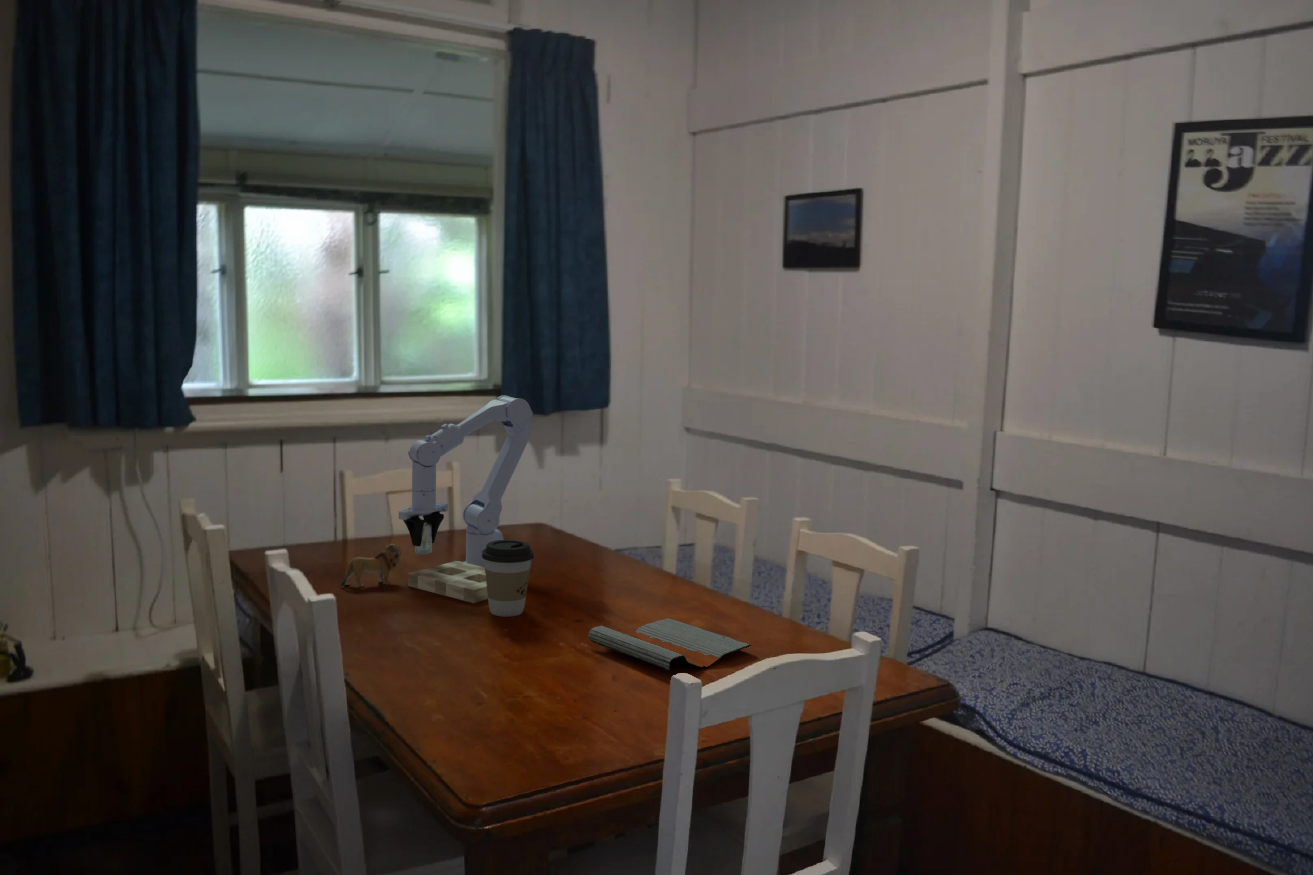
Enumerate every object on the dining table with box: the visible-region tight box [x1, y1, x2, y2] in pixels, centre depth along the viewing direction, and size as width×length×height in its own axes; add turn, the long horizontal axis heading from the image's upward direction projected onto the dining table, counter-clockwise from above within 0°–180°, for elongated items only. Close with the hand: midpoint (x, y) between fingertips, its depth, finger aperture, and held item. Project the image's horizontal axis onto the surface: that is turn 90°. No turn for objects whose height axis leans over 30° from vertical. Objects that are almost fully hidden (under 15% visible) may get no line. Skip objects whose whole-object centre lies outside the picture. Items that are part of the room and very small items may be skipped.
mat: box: [587, 617, 753, 674], centre depth 198 cm, size 23×24×5 cm
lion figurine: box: [339, 543, 402, 588], centre depth 235 cm, size 15×5×9 cm, turn 129°
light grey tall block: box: [414, 522, 433, 555], centre depth 247 cm, size 4×4×7 cm
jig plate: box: [407, 560, 488, 604], centre depth 236 cm, size 16×21×3 cm
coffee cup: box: [481, 539, 535, 618], centre depth 218 cm, size 11×11×15 cm
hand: (423, 544), depth 247 cm, fingers closed on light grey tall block, 4 cm apart
